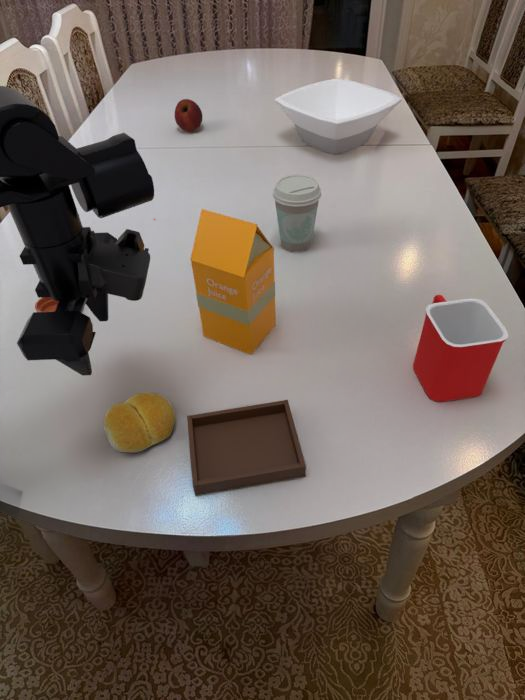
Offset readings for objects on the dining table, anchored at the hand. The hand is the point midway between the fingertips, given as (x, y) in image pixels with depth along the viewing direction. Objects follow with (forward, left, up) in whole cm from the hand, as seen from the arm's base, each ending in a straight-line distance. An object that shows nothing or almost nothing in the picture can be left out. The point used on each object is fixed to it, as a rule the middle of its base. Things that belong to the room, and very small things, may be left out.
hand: (96, 346), depth 59 cm
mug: (+45, -2, -12) cm, 47 cm away
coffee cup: (+32, +34, -12) cm, 48 cm away
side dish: (-11, +23, -12) cm, 28 cm away
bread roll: (+3, -4, -12) cm, 13 cm away
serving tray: (+16, -10, -12) cm, 22 cm away
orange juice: (+18, +12, -12) cm, 25 cm away
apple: (+16, +95, -12) cm, 97 cm away
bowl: (+52, +78, -12) cm, 95 cm away
